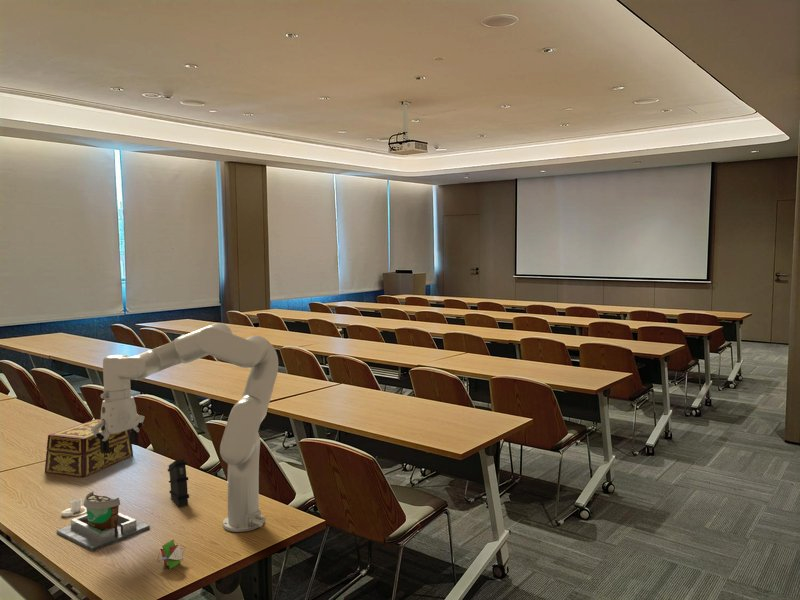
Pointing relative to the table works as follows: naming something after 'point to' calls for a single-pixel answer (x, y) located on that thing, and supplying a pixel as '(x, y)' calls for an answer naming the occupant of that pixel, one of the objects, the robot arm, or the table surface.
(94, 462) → the decorative box
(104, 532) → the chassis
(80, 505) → the white curved piece
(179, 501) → the black tall block
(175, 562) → the geometric puzzle
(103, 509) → the food container
